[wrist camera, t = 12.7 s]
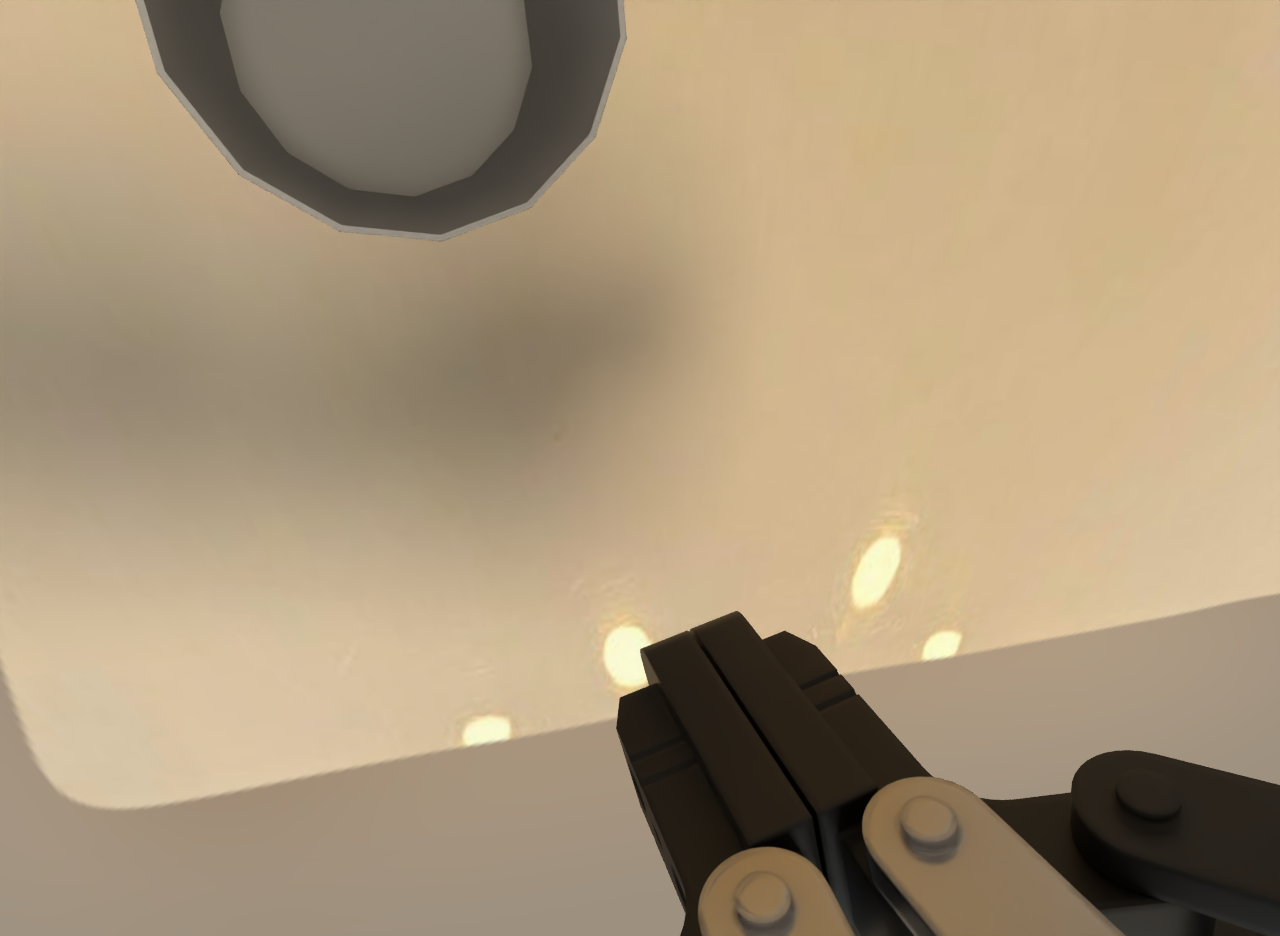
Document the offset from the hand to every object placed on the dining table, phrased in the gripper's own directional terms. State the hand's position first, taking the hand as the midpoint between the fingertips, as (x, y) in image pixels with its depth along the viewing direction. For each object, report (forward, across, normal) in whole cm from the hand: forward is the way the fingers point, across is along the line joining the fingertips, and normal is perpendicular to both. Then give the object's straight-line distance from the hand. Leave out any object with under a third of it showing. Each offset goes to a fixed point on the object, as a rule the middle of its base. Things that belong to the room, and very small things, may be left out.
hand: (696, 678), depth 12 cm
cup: (+18, 0, -10) cm, 21 cm away
